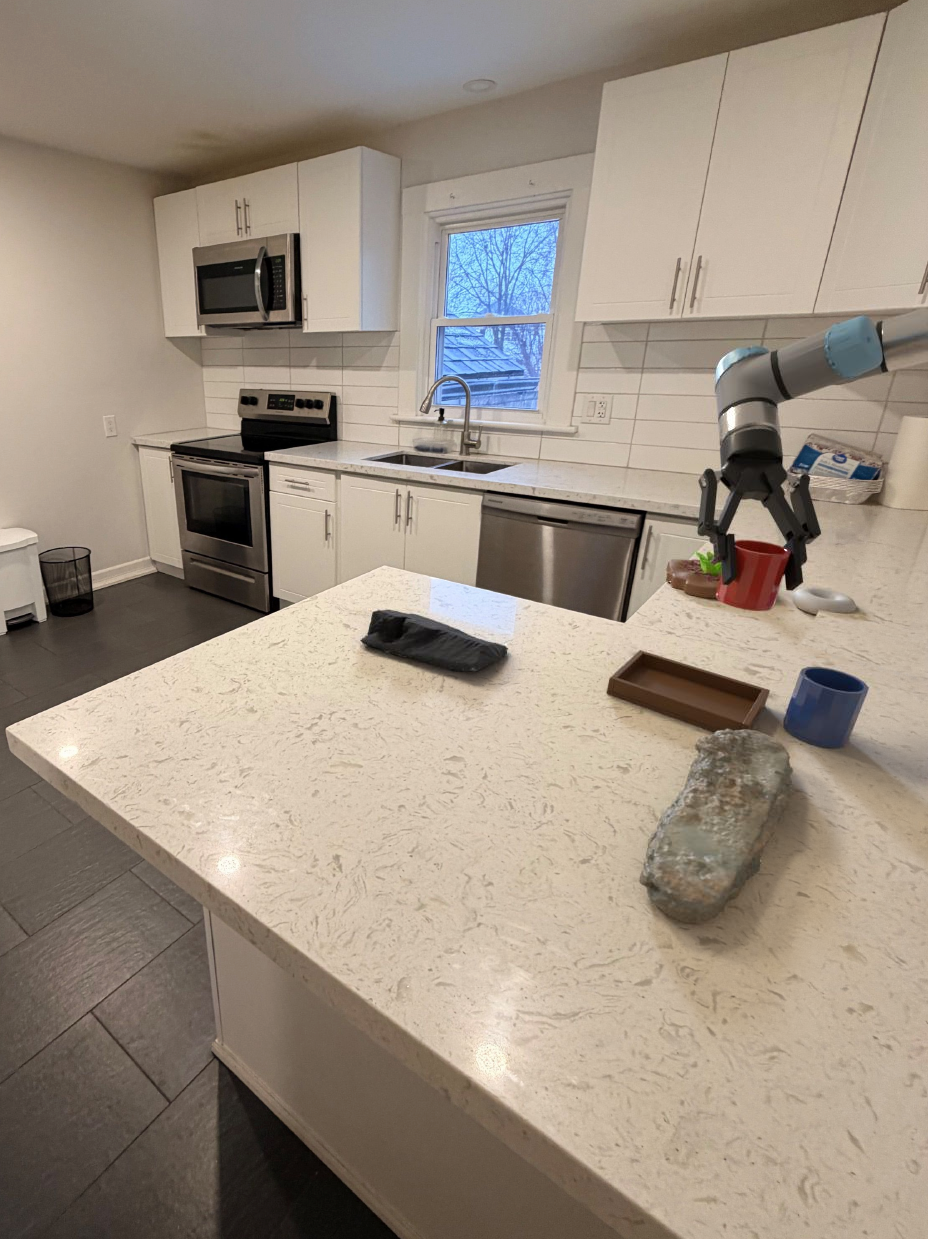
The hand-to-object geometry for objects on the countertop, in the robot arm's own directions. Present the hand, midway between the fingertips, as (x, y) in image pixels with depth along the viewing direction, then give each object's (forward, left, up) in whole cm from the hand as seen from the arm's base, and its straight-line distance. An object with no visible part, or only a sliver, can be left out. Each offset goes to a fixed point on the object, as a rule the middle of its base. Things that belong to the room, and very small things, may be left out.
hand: (762, 583), depth 85 cm
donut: (-5, -51, -18) cm, 54 cm away
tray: (+4, +5, -18) cm, 19 cm away
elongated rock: (-6, +30, -18) cm, 35 cm away
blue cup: (-11, +2, -18) cm, 21 cm away
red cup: (+2, -3, -4) cm, 5 cm away
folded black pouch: (+39, +17, -18) cm, 46 cm away
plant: (+14, -52, -18) cm, 57 cm away
